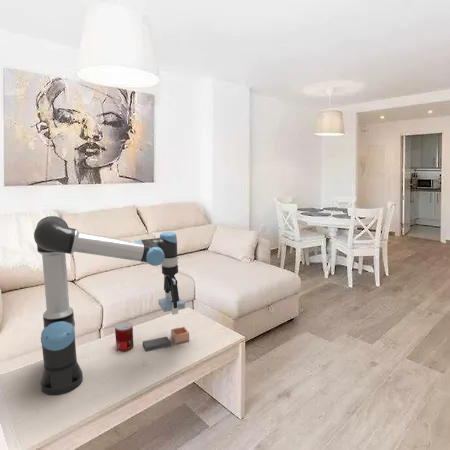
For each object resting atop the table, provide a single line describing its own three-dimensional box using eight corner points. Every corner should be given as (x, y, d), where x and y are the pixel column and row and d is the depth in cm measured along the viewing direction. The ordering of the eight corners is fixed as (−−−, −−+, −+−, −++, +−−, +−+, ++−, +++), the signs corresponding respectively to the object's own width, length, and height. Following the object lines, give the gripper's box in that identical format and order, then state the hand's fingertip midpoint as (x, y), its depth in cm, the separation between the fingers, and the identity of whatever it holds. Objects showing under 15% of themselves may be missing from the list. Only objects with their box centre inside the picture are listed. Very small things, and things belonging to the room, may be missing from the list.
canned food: (131, 351, 161) (129, 329, 159) (113, 351, 161) (112, 329, 159) (135, 343, 168) (134, 322, 166) (119, 342, 168) (117, 321, 166)
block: (145, 351, 161) (145, 347, 160) (142, 345, 166) (142, 341, 166) (170, 345, 166) (170, 342, 165) (167, 340, 171) (167, 336, 171)
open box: (175, 344, 167) (175, 335, 166) (171, 337, 173) (171, 329, 173) (189, 341, 170) (189, 332, 169) (184, 334, 176) (184, 326, 176)
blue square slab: (164, 312, 160) (163, 307, 159) (158, 304, 169) (158, 299, 168) (184, 308, 164) (184, 303, 164) (178, 300, 173) (178, 295, 172)
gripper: (185, 270, 154) (186, 317, 158) (170, 257, 174) (172, 299, 178) (168, 273, 151) (170, 320, 155) (156, 259, 171) (158, 302, 175)
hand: (171, 309), depth 167 cm, fingers closed on blue square slab, 10 cm apart
